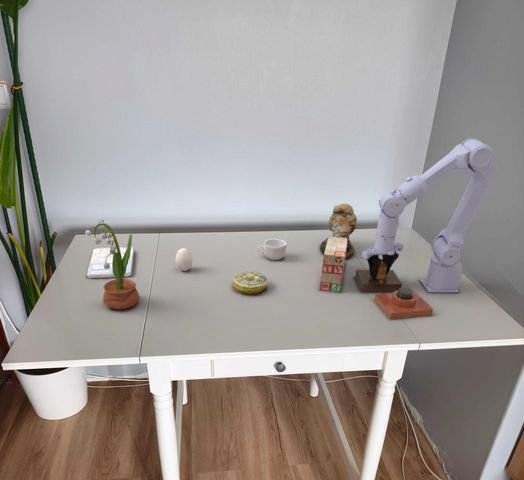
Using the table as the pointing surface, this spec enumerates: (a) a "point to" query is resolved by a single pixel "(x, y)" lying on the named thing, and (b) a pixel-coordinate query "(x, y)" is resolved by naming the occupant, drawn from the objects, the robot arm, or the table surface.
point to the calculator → (99, 259)
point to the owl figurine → (342, 226)
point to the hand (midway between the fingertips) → (378, 275)
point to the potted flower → (117, 273)
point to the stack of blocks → (333, 264)
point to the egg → (184, 259)
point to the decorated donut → (250, 282)
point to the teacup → (274, 248)
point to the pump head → (405, 293)
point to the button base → (402, 305)
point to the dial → (381, 271)
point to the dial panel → (377, 282)
